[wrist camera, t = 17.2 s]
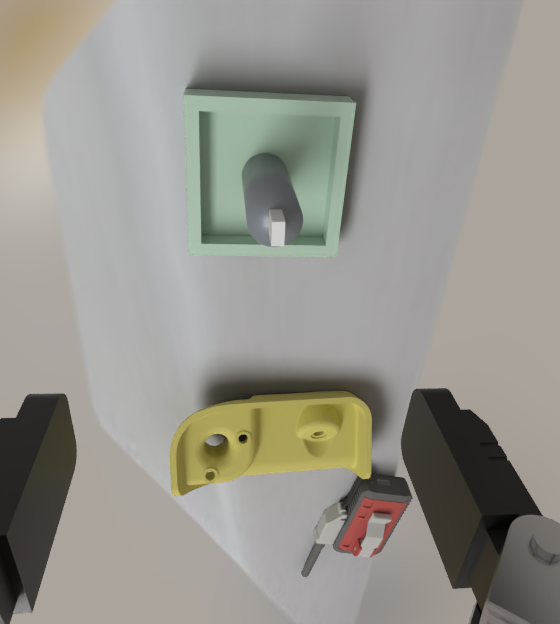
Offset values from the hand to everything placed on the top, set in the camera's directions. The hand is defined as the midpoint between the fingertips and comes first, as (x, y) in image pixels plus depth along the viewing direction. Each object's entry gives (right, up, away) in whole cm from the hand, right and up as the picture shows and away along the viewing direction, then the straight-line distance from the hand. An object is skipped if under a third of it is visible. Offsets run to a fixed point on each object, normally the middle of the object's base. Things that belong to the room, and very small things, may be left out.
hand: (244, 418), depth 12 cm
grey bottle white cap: (0, +13, +29) cm, 32 cm away
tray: (0, +13, +29) cm, 32 cm away
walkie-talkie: (+10, -24, +55) cm, 60 cm away
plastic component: (0, -9, +44) cm, 45 cm away
